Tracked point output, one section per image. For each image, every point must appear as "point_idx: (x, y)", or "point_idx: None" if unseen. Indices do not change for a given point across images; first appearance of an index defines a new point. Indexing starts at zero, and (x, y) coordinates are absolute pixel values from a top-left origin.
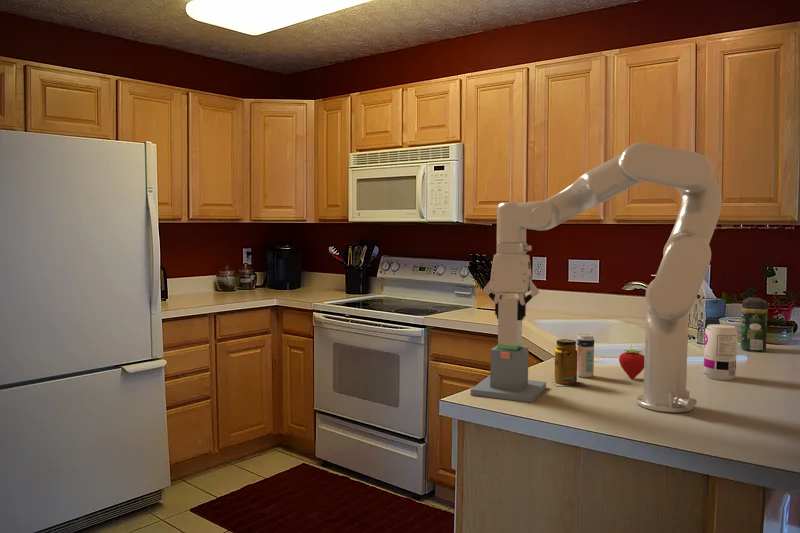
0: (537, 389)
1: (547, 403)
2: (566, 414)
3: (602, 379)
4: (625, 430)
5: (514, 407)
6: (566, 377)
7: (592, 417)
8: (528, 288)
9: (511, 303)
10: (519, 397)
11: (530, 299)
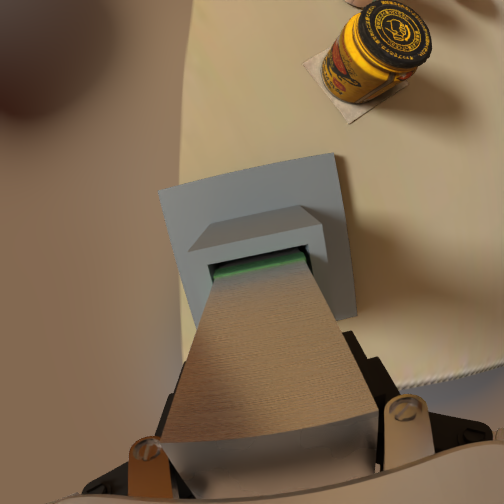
0: (345, 247)
1: (382, 292)
2: (427, 333)
3: None
4: (499, 340)
5: None
6: (372, 98)
7: (464, 318)
8: (496, 458)
9: None
10: None
11: (462, 427)
